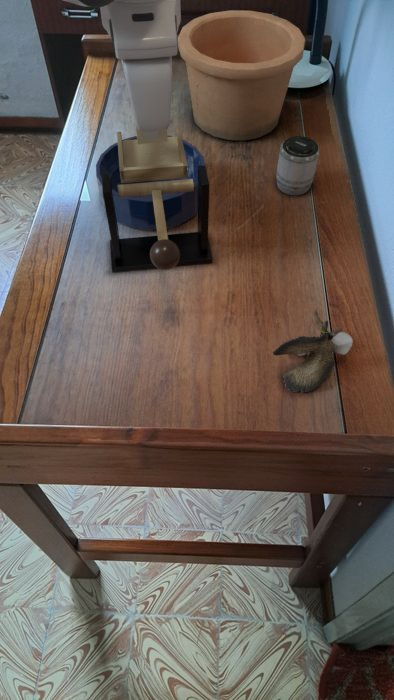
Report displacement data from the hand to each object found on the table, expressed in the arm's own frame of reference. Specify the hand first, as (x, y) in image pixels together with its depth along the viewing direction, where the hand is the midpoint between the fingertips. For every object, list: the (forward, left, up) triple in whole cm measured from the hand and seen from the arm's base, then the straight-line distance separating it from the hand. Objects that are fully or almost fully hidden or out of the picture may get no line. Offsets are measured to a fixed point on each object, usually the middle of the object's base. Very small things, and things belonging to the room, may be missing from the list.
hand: (149, 123), depth 67 cm
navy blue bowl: (0, +7, -17) cm, 19 cm away
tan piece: (0, -8, -7) cm, 11 cm away
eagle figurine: (+17, -29, -18) cm, 38 cm away
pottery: (+18, +29, -18) cm, 38 cm away
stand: (0, -7, -17) cm, 18 cm away
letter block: (0, 0, -2) cm, 2 cm away
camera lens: (+24, +7, -18) cm, 30 cm away
